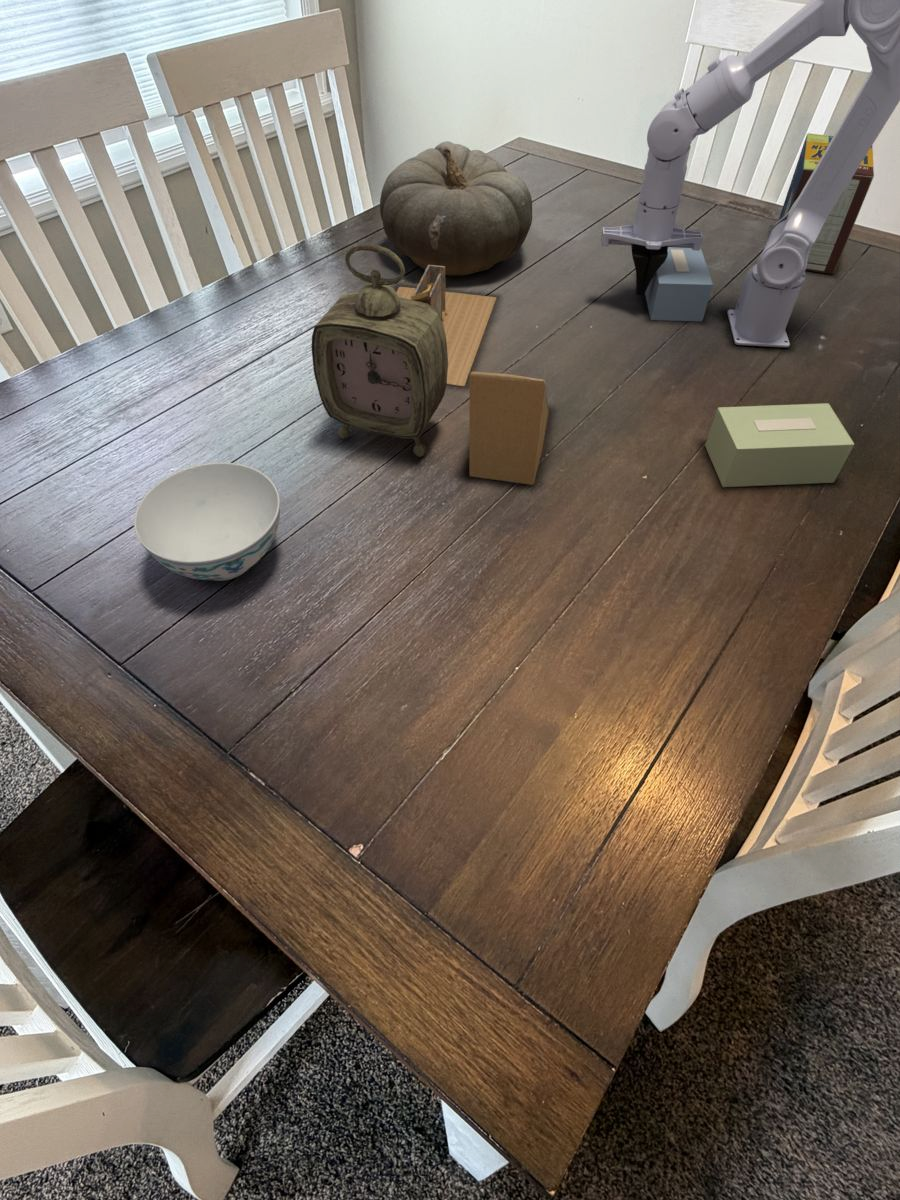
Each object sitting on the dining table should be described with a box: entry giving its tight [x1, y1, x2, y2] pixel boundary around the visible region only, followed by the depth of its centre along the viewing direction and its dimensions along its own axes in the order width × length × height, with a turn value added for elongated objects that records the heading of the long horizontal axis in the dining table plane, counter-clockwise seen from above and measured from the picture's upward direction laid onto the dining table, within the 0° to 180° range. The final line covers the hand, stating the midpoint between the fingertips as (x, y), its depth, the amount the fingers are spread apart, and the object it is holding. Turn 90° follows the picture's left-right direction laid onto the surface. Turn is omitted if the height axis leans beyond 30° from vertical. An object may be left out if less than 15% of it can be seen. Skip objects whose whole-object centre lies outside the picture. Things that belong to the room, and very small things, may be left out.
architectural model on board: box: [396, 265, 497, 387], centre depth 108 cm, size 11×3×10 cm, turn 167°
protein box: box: [777, 132, 875, 275], centre depth 122 cm, size 10×15×16 cm
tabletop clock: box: [311, 243, 448, 458], centre depth 87 cm, size 14×9×25 cm, turn 70°
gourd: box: [379, 140, 533, 277], centre depth 121 cm, size 25×25×17 cm
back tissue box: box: [644, 247, 714, 322], centre depth 116 cm, size 14×8×6 cm, turn 177°
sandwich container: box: [468, 371, 550, 486], centre depth 90 cm, size 9×15×15 cm, turn 168°
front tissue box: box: [704, 402, 855, 488], centre depth 90 cm, size 8×14×6 cm, turn 93°
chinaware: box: [133, 462, 281, 582], centre depth 80 cm, size 15×15×8 cm
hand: (640, 292), depth 115 cm, fingers closed
